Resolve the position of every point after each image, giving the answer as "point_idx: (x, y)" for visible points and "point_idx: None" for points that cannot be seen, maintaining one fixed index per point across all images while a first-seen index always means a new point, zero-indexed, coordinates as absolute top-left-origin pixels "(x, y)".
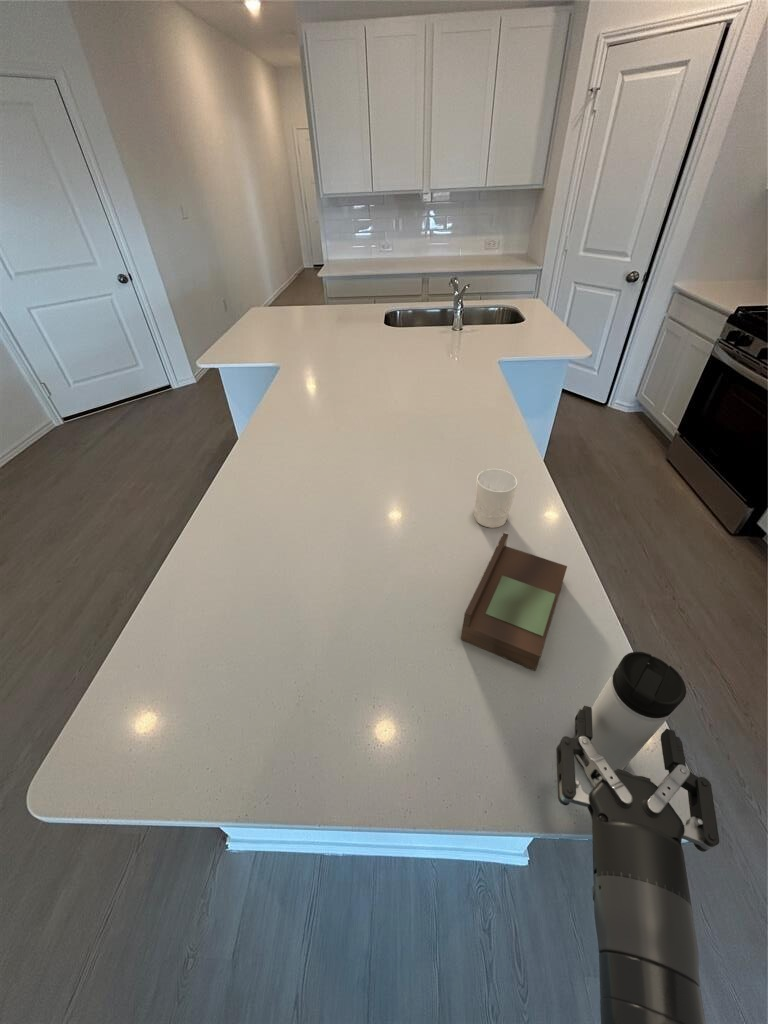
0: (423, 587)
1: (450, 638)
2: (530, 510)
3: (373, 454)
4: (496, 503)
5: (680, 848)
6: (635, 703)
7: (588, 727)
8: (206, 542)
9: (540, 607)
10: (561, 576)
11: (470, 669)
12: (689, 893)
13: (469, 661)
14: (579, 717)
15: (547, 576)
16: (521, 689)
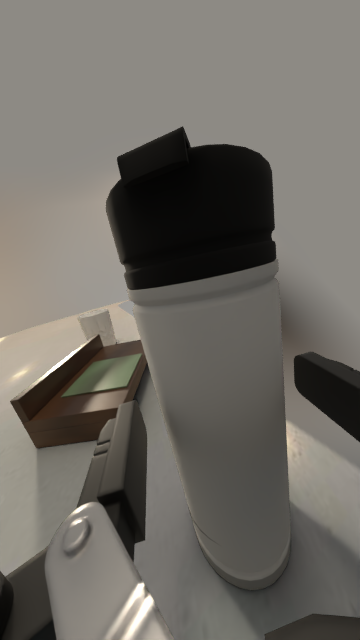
0: (15, 414)
1: (21, 455)
2: (133, 334)
3: (25, 350)
4: (95, 326)
5: None
6: (164, 238)
7: (115, 455)
8: None
9: (126, 366)
10: None
11: (33, 487)
12: None
13: (37, 474)
14: (100, 441)
15: (136, 347)
16: None
